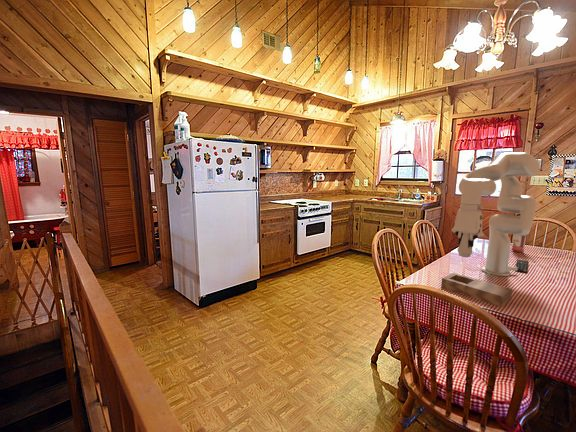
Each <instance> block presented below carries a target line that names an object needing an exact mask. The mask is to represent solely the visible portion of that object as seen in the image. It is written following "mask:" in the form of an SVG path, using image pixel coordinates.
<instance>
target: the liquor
mask: <svg viewBox="0 0 576 432" xmlns="http://www.w3.org/2000/svg"><path fill="white" fill-rule="evenodd" d="M519 216H520V217H521V215H519ZM526 239H527V235H525V236H520V235H514V234H513V239H512V247H511V251H513V252H514V253H518V254H521V253H523V252H525V244H526Z"/></svg>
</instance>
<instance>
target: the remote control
mask: <svg viewBox="0 0 576 432" xmlns="http://www.w3.org/2000/svg"><path fill="white" fill-rule="evenodd" d="M529 263H530V262H529V260H523V259H517V260H516V263H515V267H517V268H518V270H517V271H516V272H517V273H522V274H527V273H528V269H529Z"/></svg>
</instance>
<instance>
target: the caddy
mask: <svg viewBox="0 0 576 432" xmlns="http://www.w3.org/2000/svg"><path fill="white" fill-rule="evenodd" d="M440 285H441V286H440V288H442V287H443V288H442V289H445V290H449V291H452V292H454V291H455V293H457V292H459V293H458V294H460V293H462V294H461V295H463V294H465V295H464V296H466V295H467V296H466V297H469V296H470V297H471V298H472V297H473V299H475V300H479V301H481V302H485V303H487V304H491V305H494V306H497V307H500V308H501V307H503V306H504V305H506V304H507V303H508V302H509V301H511V299H512V297H513V290H514V289H513V288H509V287H506V286H502V285H499V284H495V283H492V282H488V281H485V280H481V279H478V278H473V277H470V276H467V275H464V274H459V273H456V272H453V273H451V274H448V275H446V276H444V277H441V284H440Z"/></svg>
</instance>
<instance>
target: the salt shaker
mask: <svg viewBox="0 0 576 432" xmlns="http://www.w3.org/2000/svg"><path fill="white" fill-rule="evenodd" d="M462 233H463V236H462V239H461V242H460V246H459V245H458V247H457V252H458V256H459V257H462V258H470V257H471V256H472V254H473V247H469V248H468V240H470V233H468V232H467V231H463V232H462Z"/></svg>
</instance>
